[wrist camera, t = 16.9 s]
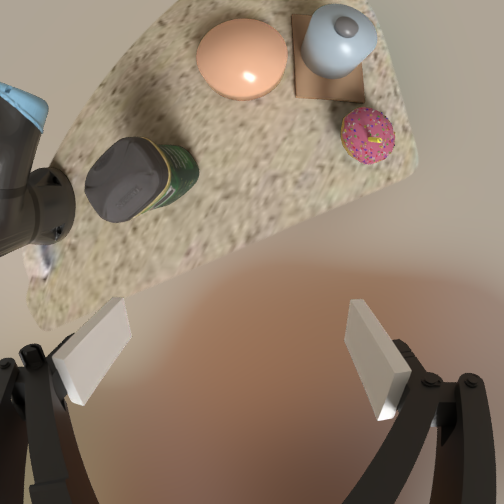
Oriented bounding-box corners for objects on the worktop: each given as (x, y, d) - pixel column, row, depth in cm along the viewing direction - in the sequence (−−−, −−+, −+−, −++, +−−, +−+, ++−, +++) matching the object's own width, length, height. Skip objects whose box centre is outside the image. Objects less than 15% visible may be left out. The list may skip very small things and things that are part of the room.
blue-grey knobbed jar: (302, 77, 37) (315, 50, 27) (298, 30, 35) (308, -4, 24) (357, 81, 37) (385, 59, 26) (352, 35, 35) (374, 5, 24)
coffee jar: (179, 137, 42) (127, 119, 24) (208, 176, 43) (171, 180, 26) (135, 176, 44) (67, 183, 26) (162, 213, 45) (105, 239, 27)
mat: (295, 97, 39) (296, 96, 38) (291, 16, 35) (291, 14, 34) (362, 103, 39) (364, 102, 38) (354, 23, 35) (355, 21, 34)
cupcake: (365, 174, 42) (398, 177, 31) (323, 143, 41) (344, 133, 30) (390, 134, 40) (427, 125, 29) (350, 102, 39) (377, 82, 28)
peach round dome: (202, 103, 40) (195, 95, 35) (204, 35, 37) (198, 22, 32) (286, 100, 40) (289, 92, 35) (283, 32, 36) (285, 18, 31)
